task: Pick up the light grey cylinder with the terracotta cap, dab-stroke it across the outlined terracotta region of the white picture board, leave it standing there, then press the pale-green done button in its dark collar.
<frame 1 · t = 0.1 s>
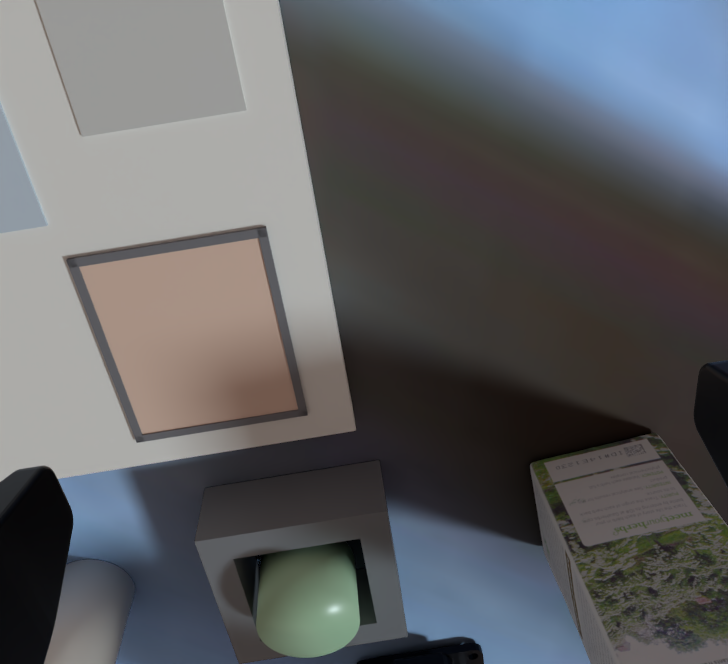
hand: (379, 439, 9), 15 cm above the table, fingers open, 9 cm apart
picture board: (71, 214, 22), on the table
light grey cylinder: (93, 587, 30), on the table
syrup box: (594, 487, 30), on the table
button housing: (307, 537, 30), on the table
done button: (308, 592, 27), point 3 cm above the table, slide at 0.0 cm
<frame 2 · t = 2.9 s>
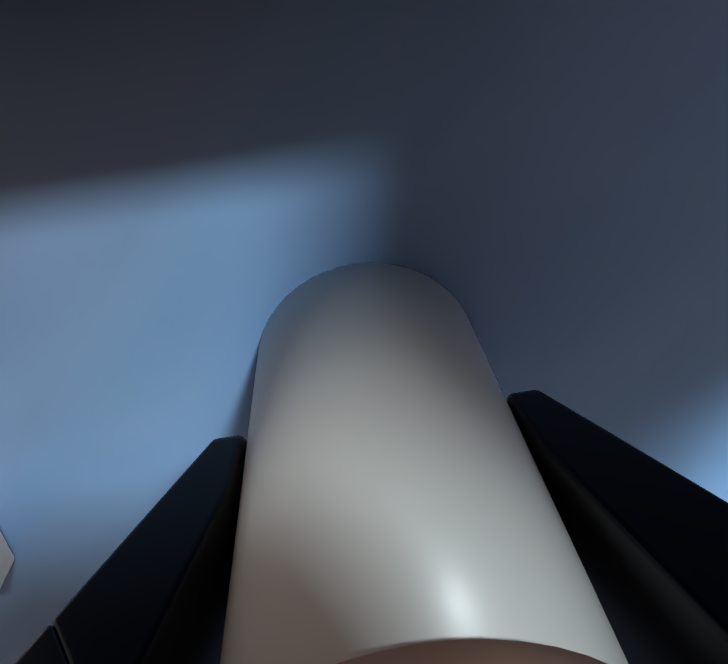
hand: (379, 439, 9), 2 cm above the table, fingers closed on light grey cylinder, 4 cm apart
light grey cylinder: (367, 364, 11), on the table, touching gripper
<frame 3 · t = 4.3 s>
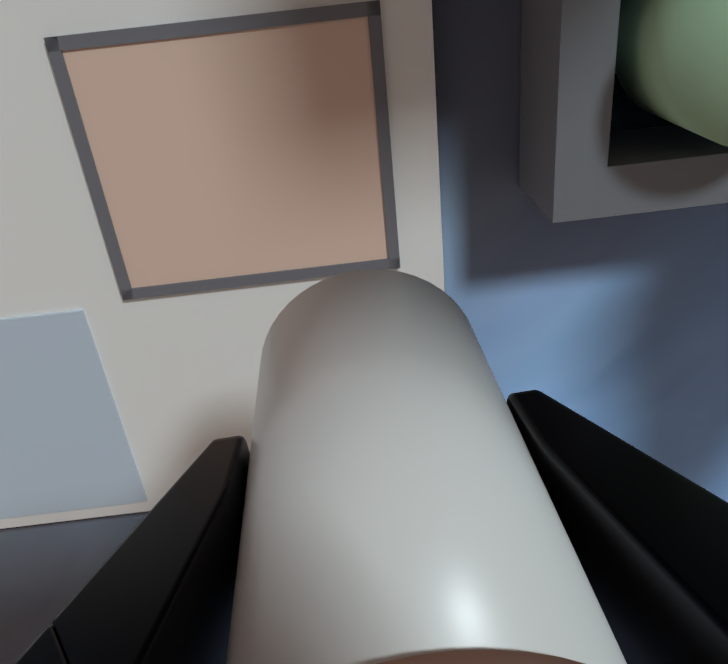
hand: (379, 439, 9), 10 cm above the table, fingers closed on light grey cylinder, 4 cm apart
picture board: (86, 280, 19), on the table
light grey cylinder: (370, 369, 11), point 8 cm above the table, touching gripper
button housing: (668, 24, 17), on the table
when the fingers open (3 cm above the table, at t = 6.1 s): light grey cylinder stays where it is, resting on picture board.
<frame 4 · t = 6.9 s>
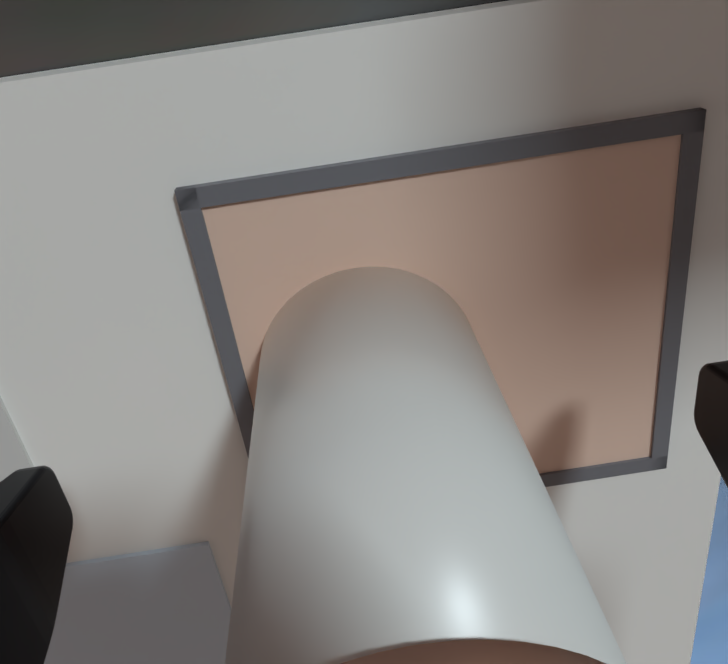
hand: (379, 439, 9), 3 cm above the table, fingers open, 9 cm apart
picture board: (207, 492, 13), on the table
light grey cylinder: (369, 366, 11), point 1 cm above the table, touching picture board
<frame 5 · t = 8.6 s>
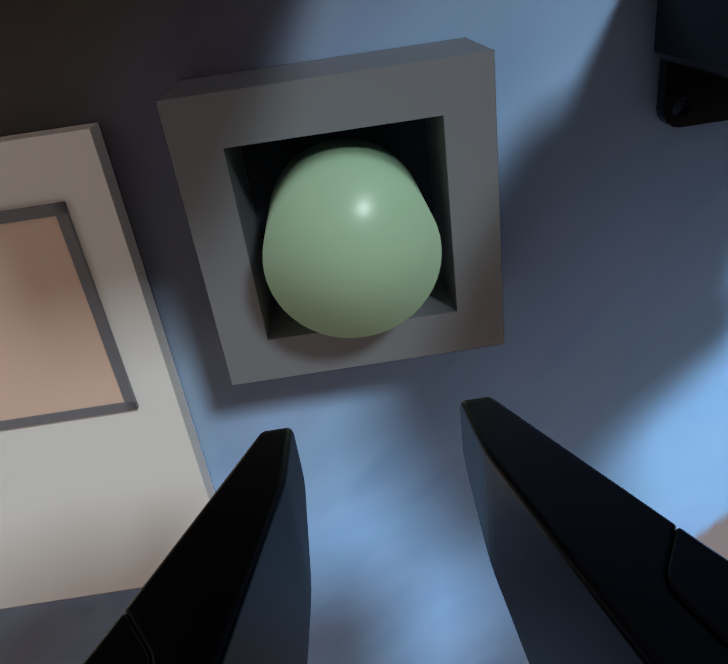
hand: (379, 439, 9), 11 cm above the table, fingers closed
button housing: (343, 198, 19), on the table
done button: (349, 236, 16), point 3 cm above the table, slide at 0.0 cm
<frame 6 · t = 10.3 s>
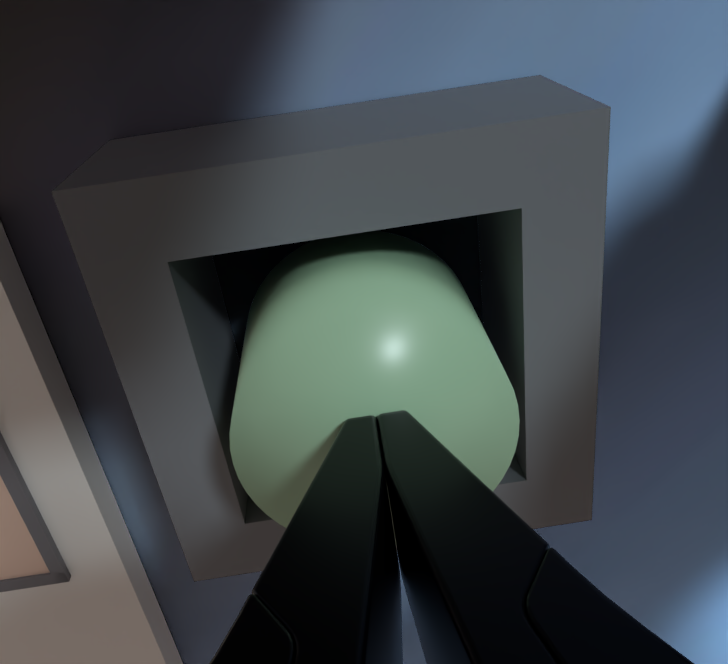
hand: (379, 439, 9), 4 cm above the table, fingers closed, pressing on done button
button housing: (355, 300, 13), on the table
done button: (367, 383, 11), point 3 cm above the table, slide at 0.0 cm, touching gripper
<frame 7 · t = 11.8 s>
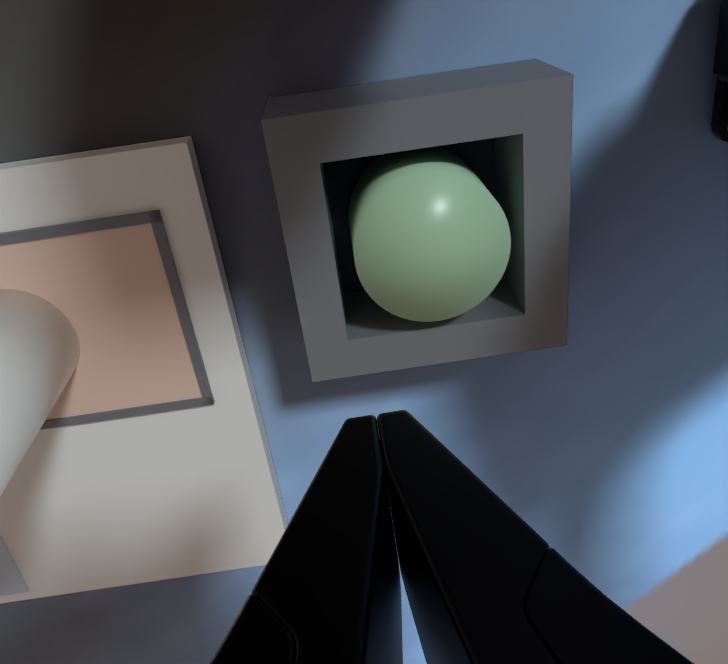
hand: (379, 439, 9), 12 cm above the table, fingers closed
light grey cylinder: (18, 342, 20), point 1 cm above the table, touching picture board
button housing: (414, 207, 20), on the table
done button: (424, 231, 18), point 2 cm above the table, slide at 0.9 cm
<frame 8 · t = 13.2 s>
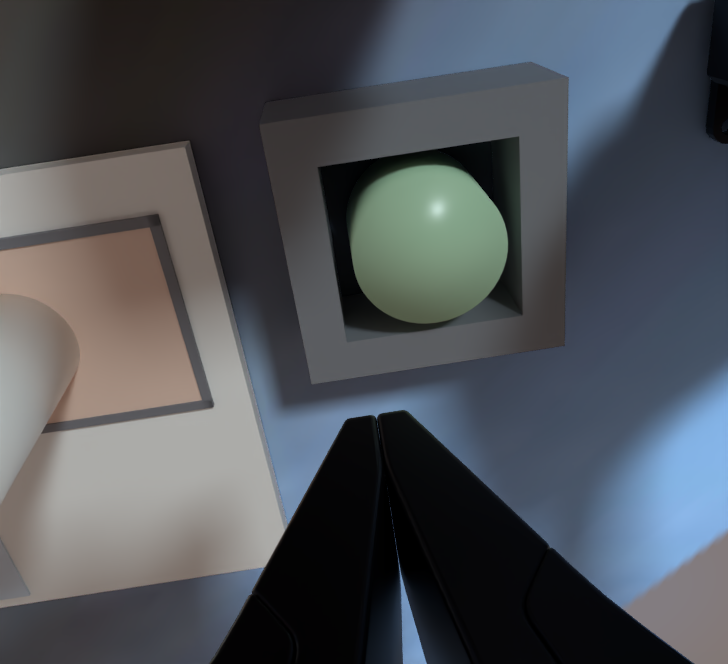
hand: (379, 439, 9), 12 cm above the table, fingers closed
light grey cylinder: (18, 347, 20), point 1 cm above the table, touching picture board
button housing: (411, 210, 20), on the table
done button: (421, 233, 18), point 2 cm above the table, slide at 0.9 cm
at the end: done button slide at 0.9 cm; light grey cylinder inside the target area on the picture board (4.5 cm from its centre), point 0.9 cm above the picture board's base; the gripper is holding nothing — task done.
